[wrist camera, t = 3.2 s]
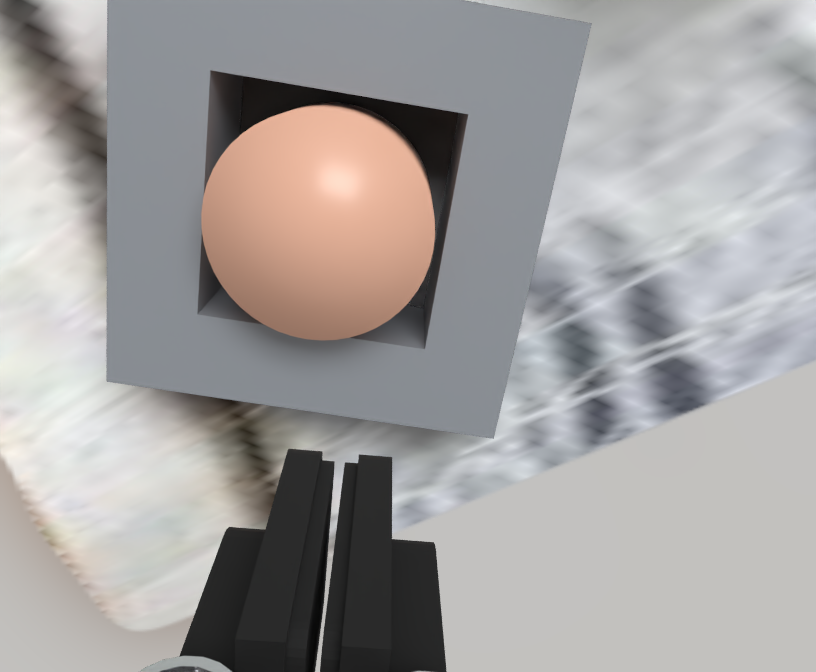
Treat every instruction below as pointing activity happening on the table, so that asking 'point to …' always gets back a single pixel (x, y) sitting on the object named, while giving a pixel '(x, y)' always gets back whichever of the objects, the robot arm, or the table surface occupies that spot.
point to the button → (320, 221)
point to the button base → (352, 74)
